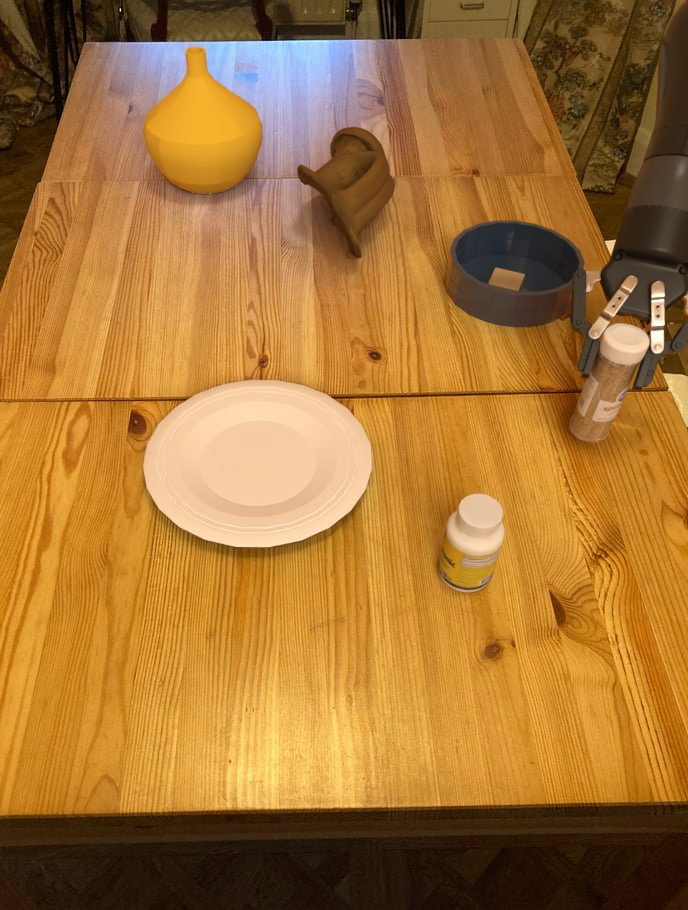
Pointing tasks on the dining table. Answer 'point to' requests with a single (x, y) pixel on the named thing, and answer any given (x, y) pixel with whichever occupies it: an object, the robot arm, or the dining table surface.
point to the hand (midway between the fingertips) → (610, 383)
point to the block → (507, 280)
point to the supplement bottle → (471, 543)
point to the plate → (257, 463)
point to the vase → (203, 132)
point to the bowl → (519, 251)
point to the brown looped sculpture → (353, 182)
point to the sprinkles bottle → (608, 381)
